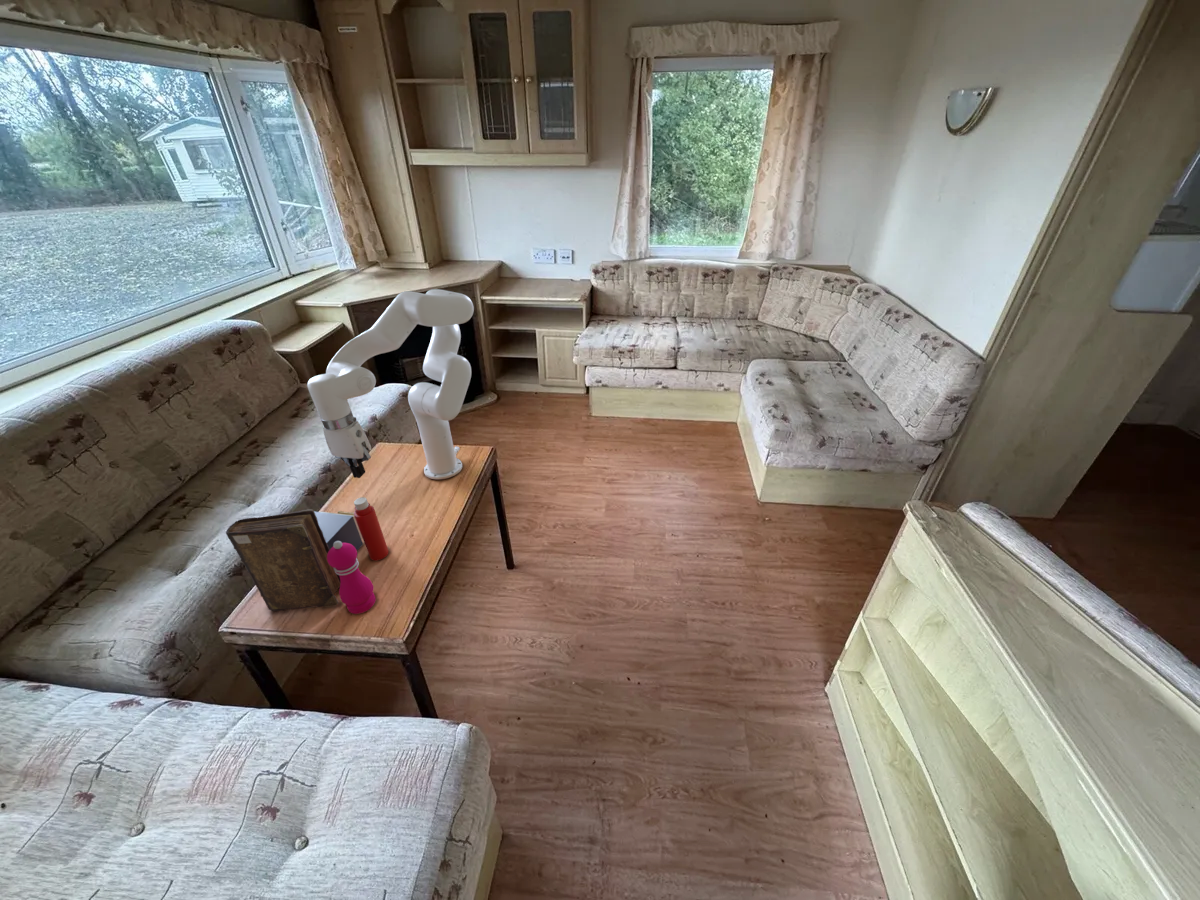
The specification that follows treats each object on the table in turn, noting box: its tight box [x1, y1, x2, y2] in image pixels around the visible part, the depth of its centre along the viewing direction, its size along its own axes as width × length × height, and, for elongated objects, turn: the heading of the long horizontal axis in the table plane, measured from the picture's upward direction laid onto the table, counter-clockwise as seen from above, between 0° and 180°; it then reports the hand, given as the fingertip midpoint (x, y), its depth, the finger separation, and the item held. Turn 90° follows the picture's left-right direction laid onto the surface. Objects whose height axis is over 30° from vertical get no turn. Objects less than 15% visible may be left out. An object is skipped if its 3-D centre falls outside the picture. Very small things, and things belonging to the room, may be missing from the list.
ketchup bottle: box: [353, 496, 390, 561], centre depth 125 cm, size 5×5×18 cm
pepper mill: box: [327, 541, 377, 615], centre depth 110 cm, size 7×7×20 cm
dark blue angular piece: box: [314, 510, 364, 552], centre depth 125 cm, size 15×12×10 cm
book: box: [225, 508, 341, 612], centre depth 110 cm, size 17×7×25 cm, turn 93°
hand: (359, 474), depth 138 cm, fingers closed
